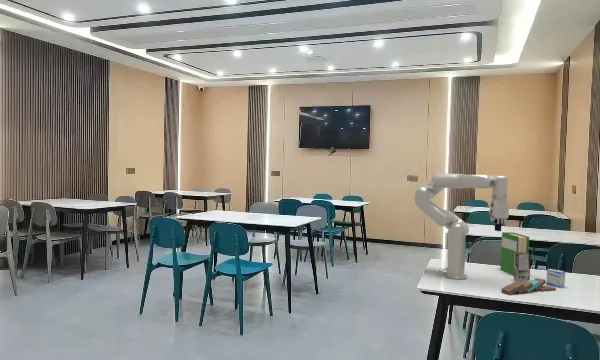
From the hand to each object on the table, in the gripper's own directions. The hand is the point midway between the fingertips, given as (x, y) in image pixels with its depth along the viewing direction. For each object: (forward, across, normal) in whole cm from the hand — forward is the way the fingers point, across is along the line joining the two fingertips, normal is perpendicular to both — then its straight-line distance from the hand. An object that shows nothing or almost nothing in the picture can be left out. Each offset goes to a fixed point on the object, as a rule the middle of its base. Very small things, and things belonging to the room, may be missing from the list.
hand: (497, 230), depth 245 cm
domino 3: (+28, +7, -18) cm, 34 cm away
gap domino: (+28, +1, -18) cm, 33 cm away
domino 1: (+28, -12, -19) cm, 36 cm away
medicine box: (+29, +29, -13) cm, 44 cm away
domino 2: (+28, -6, -19) cm, 34 cm away
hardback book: (+29, +30, +16) cm, 45 cm away
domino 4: (+29, +11, -18) cm, 36 cm away
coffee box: (+29, +18, -1) cm, 34 cm away
